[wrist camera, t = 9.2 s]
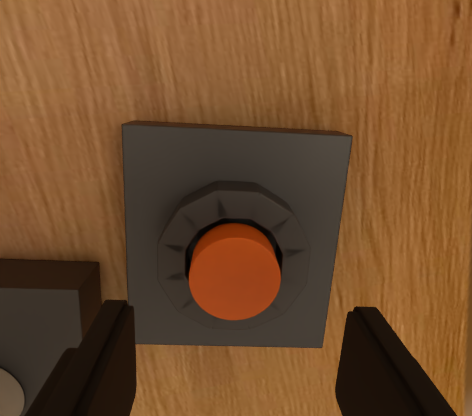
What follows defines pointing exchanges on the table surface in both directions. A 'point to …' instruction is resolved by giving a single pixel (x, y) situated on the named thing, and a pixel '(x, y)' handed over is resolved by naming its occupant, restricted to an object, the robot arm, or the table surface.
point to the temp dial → (10, 395)
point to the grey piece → (231, 211)
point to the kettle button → (234, 272)
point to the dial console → (43, 316)
